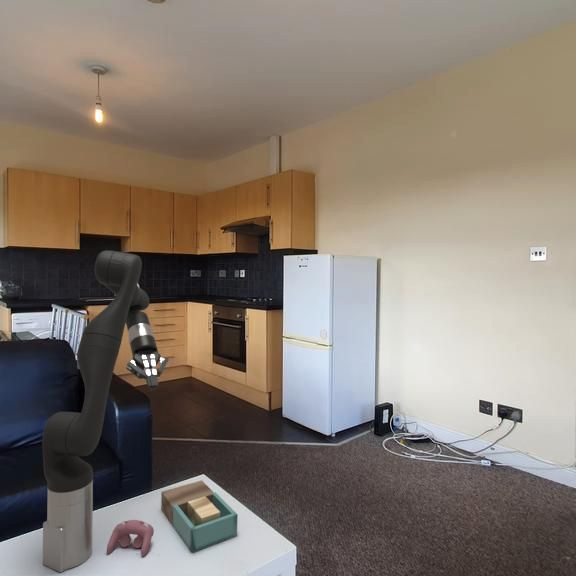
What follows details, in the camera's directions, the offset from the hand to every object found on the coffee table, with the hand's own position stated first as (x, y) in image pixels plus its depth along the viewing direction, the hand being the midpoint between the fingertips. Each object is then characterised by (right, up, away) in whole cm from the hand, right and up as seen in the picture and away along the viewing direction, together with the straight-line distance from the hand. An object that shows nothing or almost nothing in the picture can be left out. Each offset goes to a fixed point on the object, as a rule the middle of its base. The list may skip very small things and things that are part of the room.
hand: (153, 388), depth 122 cm
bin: (+18, -33, -16) cm, 40 cm away
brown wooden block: (+12, -32, -7) cm, 35 cm away
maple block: (+15, -29, -11) cm, 35 cm away
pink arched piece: (+2, -33, -23) cm, 40 cm away
